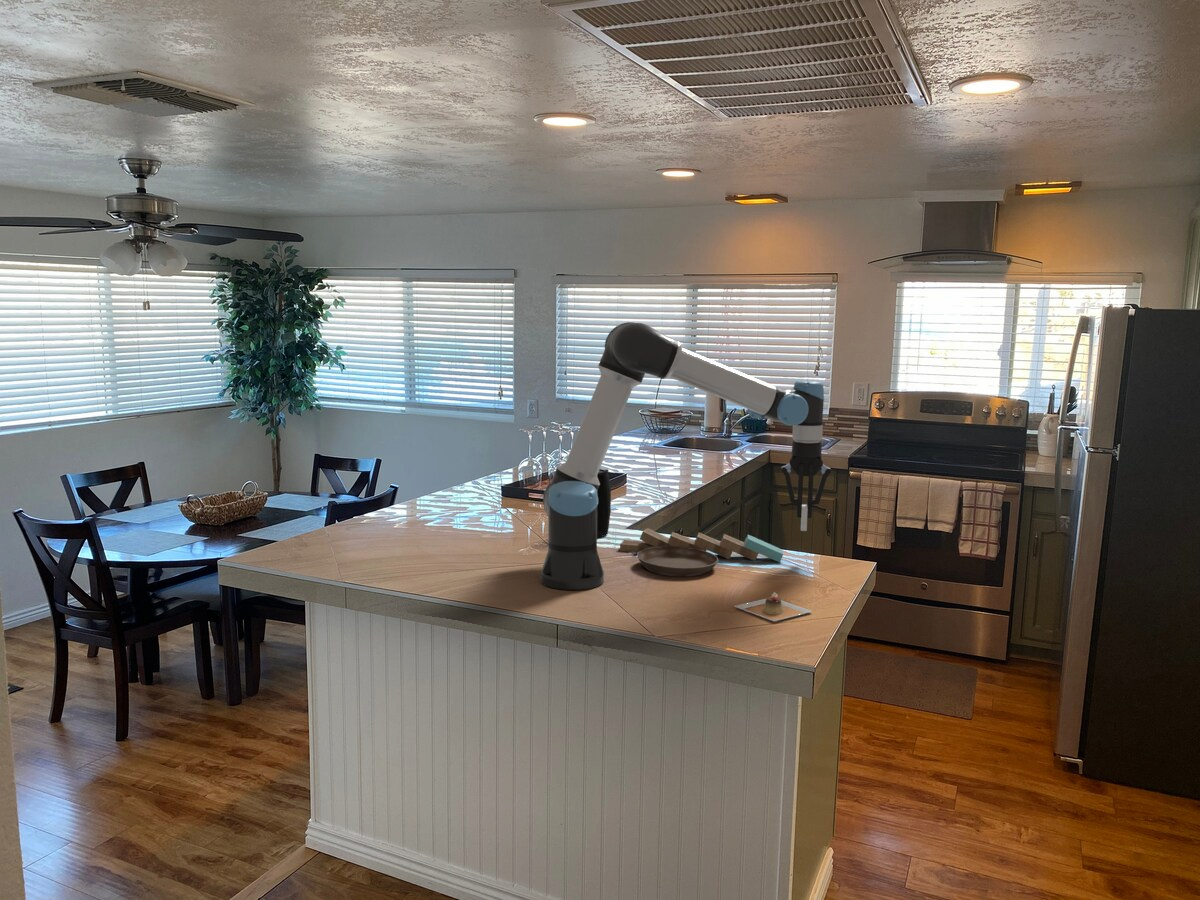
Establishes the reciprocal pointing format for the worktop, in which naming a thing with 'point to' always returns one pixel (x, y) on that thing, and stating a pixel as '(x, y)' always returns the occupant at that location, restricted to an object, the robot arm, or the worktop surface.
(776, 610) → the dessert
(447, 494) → the worktop surface
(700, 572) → the plant saucer
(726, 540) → the domino
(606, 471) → the portable speaker
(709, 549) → the domino
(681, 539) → the domino
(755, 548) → the domino
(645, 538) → the domino
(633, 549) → the domino
